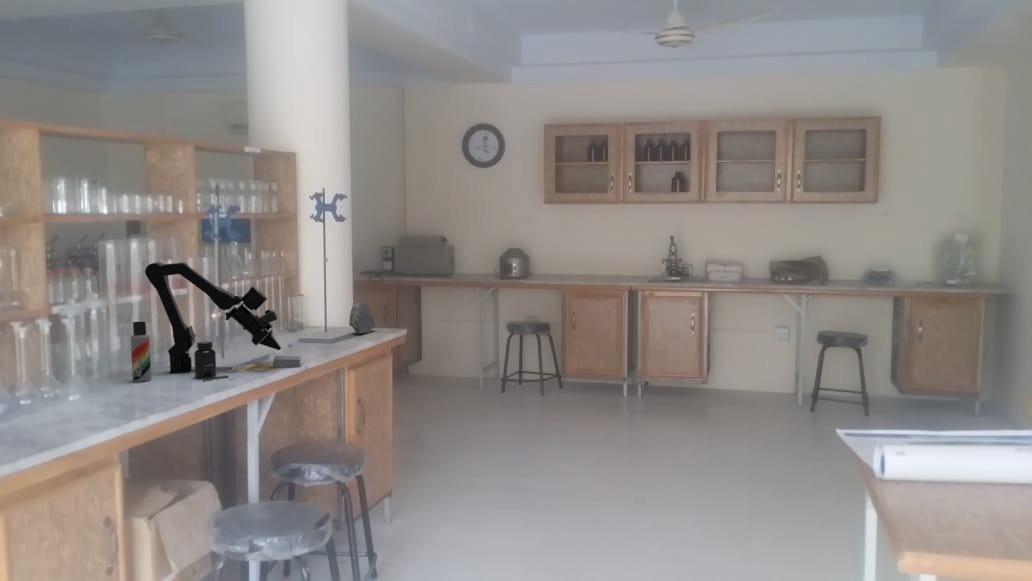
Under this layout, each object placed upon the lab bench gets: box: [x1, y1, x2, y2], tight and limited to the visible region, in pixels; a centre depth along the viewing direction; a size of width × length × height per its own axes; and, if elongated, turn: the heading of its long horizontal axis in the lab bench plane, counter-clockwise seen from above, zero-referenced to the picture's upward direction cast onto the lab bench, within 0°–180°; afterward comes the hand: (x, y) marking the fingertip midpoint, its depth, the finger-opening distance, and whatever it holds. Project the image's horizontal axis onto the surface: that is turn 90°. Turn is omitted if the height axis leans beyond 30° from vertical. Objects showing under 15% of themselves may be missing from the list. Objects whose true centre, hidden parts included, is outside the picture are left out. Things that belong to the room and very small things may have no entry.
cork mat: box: [229, 363, 278, 373], centre depth 294 cm, size 16×12×1 cm
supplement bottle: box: [193, 340, 217, 380], centre depth 279 cm, size 7×7×12 cm
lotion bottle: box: [130, 321, 152, 383], centre depth 273 cm, size 6×6×20 cm
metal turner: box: [202, 375, 235, 383], centre depth 277 cm, size 15×6×1 cm, turn 123°
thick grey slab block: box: [272, 355, 302, 369], centre depth 296 cm, size 3×7×9 cm
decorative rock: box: [348, 300, 376, 334], centre depth 374 cm, size 16×7×15 cm, turn 157°
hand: (280, 349), depth 295 cm, fingers closed
